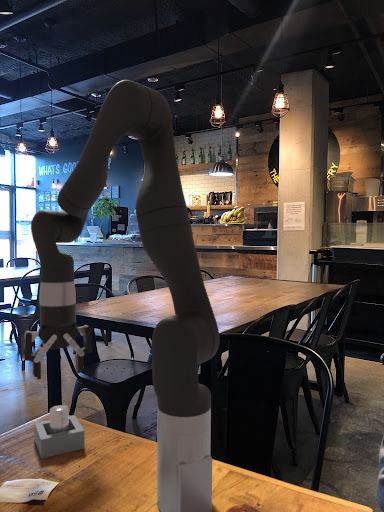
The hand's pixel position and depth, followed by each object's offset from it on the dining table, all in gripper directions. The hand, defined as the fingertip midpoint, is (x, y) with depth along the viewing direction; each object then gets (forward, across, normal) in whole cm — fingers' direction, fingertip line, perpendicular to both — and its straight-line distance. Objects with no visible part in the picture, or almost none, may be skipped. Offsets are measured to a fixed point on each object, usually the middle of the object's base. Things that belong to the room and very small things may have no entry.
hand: (58, 375), depth 93 cm
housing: (+15, 0, 0) cm, 16 cm away
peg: (+15, 0, 0) cm, 16 cm away
